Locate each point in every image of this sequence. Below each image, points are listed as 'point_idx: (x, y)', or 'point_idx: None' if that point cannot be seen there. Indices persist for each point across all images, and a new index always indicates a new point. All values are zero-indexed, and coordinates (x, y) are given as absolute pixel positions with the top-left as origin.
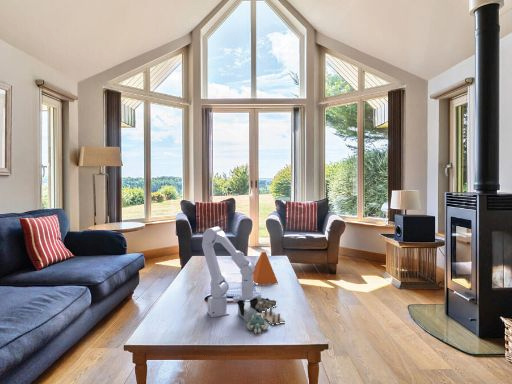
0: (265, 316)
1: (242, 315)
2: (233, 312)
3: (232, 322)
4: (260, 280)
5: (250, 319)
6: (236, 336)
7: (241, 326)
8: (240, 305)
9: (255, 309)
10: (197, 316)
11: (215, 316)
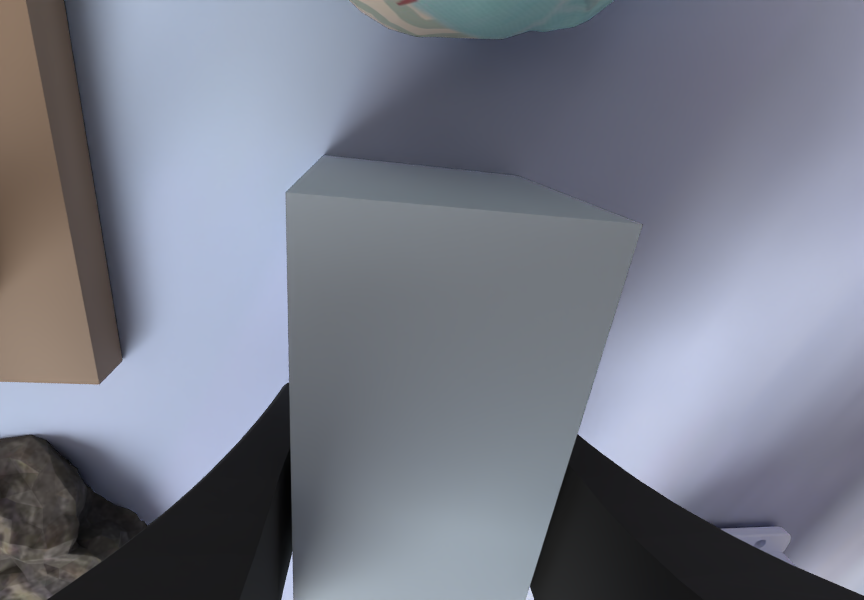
0: (9, 170)
1: None
2: None
3: (708, 312)
4: None
5: (478, 179)
6: None
7: (717, 89)
8: (840, 590)
9: None
10: (842, 580)
11: (747, 529)
